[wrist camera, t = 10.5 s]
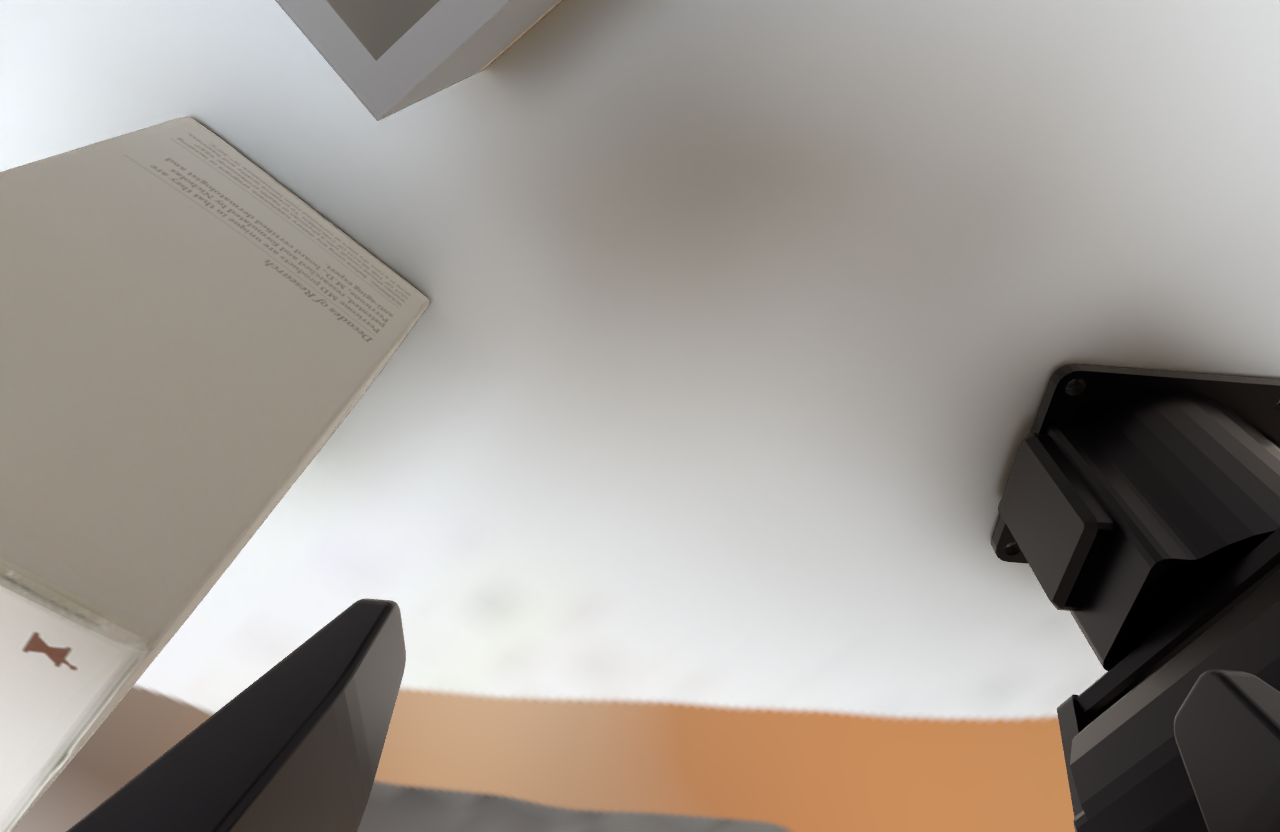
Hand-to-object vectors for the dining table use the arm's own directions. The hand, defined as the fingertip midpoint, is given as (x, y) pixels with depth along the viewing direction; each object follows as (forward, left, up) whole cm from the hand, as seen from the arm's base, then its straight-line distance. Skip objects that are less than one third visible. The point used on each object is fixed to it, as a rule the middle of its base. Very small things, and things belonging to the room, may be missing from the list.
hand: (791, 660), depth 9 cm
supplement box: (+13, +2, -13) cm, 19 cm away
